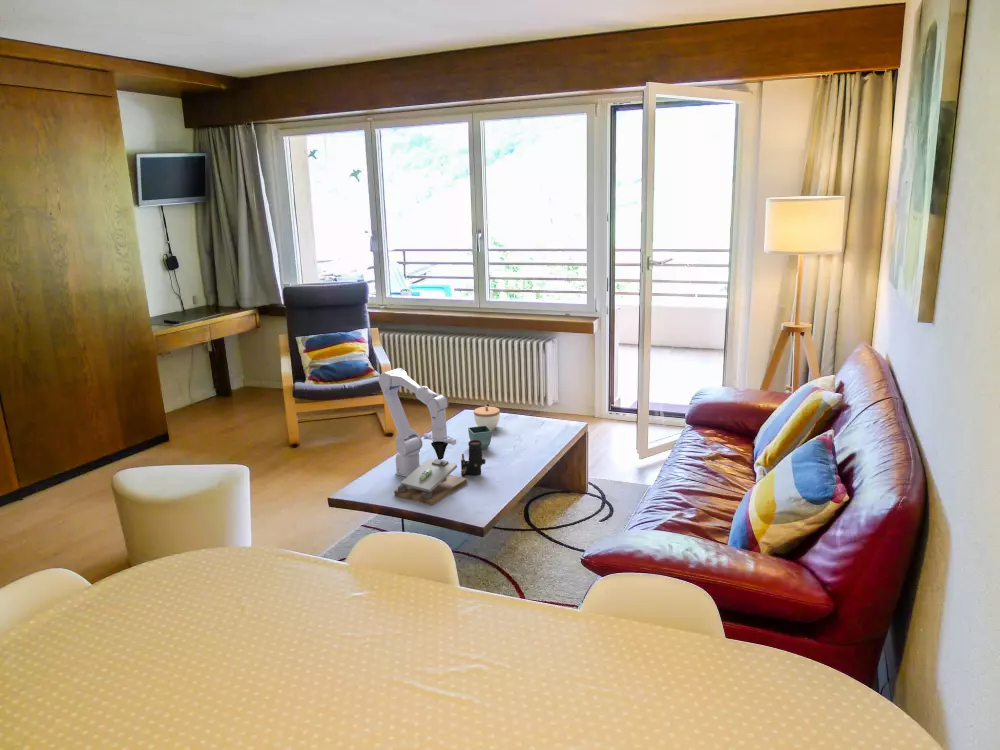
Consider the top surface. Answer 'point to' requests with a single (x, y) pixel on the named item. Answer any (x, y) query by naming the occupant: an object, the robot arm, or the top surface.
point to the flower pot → (480, 435)
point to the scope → (473, 460)
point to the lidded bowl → (487, 416)
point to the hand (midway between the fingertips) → (440, 458)
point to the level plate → (429, 474)
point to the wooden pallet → (436, 494)
